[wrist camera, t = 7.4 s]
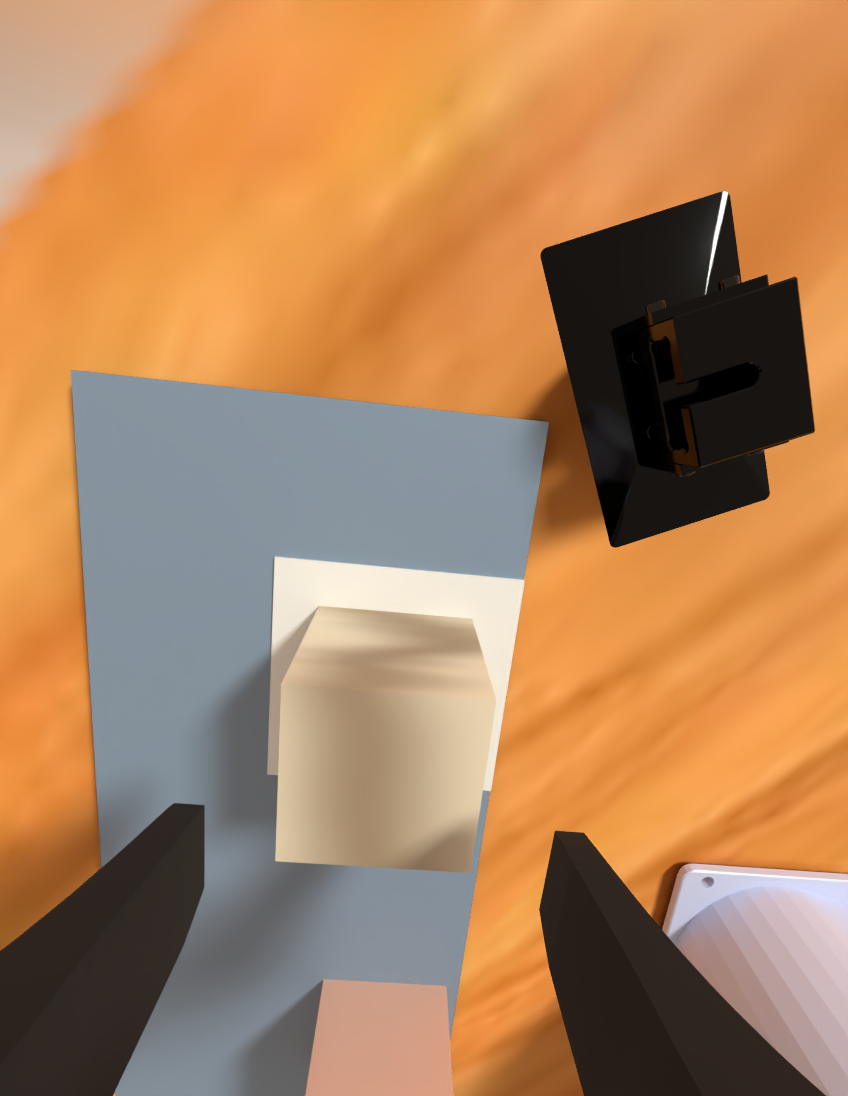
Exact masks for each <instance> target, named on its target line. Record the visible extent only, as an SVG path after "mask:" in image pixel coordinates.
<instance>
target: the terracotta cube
mask: <svg viewBox="0 0 848 1096" xmlns="http://www.w3.org/2000/svg"><path fill="white" fill-rule="evenodd" d="M305 1096H453V1082H452V1066H451V1050H450V1033H449V1017H448V1001H447V986H439V985H421V984H402V983H384V982H366V981H347V980H329V979H323V985H322V992H321V998H320V1005H319V1011H318V1017H317V1024H316V1030H315V1037H314V1043H313V1049H312V1056H311V1062H310V1068H309V1075H308V1081H307V1088H306V1094H305Z"/></svg>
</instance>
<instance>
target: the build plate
mask: <svg viewBox="0 0 848 1096" xmlns="http://www.w3.org/2000/svg"><path fill="white" fill-rule="evenodd" d="M541 261H542V265H543V269H544V273H545V277H546V281H547V286H548V290H549V294H550V298H551V302H552V306H553V310H554V314H555V319H556V323H557V327H558V331H559V335H560V339H561V343H562V347H563V352H564V356H565V360H566V364H567V368H568V372H569V376H570V380H571V384H572V389H573V393H574V397H575V401H576V405H577V409H578V413H579V417H580V422H581V426H582V430H583V434H584V438H585V442H586V446H587V450H588V455H589V459H590V463H591V467H592V471H593V475H594V479H595V483H596V488H597V492H598V496H599V500H600V504H601V508H602V512H603V516H604V521H605V525H606V529H607V533H608V537H609V541H610V545H611V546H612V547H615V548H616V547H620V546H623V545H626V544H629V543H632V542H635V541H638V540H641V539H644V538H648V537H651V536H654V535H657V534H660V533H663V532H666V531H669V530H672V529H675V528H679V527H682V526H685V525H688V524H691V523H694V522H697V521H700V520H703V519H706V518H710V517H713V516H716V515H719V514H722V513H725V512H728V511H731V510H734V509H737V508H741V507H744V506H747V505H750V504H753V503H756V502H759V501H762V500H765V499H767V498H768V497H769V494H770V491H769V484H768V476H767V469H766V461H765V454H764V449H768V448H771V447H774V446H777V445H780V444H784V443H787V442H789V440H792V439H795V438H799V437H802V436H805V435H808V434H811V433H814V431H815V425H814V416H813V407H812V399H811V390H810V382H809V373H808V364H807V356H806V347H805V339H804V330H803V321H802V313H801V304H800V296H799V287H798V278H796V277H793V278H790V279H787V280H784V281H781V282H778V283H775V284H772V285H769V282H768V275H764V276H761V277H758V278H755V279H752V280H749V281H746V282H743V283H742V282H741V275H740V267H739V260H738V252H737V245H736V238H735V230H734V223H733V215H732V208H731V200H730V195H729V194H728V193H727V192H725V191H722V192H719V193H716V194H713V195H710V196H706V197H703V198H700V199H697V200H694V201H691V202H688V203H685V204H681V205H678V206H675V207H672V208H669V209H666V210H663V211H660V212H656V213H653V214H650V215H647V216H644V217H641V218H638V219H635V220H632V221H628V222H625V223H622V224H619V225H616V226H613V227H610V228H607V229H603V230H600V231H597V232H594V233H591V234H588V235H585V236H582V237H578V238H575V239H572V240H569V241H566V242H563V243H560V244H557V245H554V246H550V247H547V248H545V249H543V251H542V252H541Z"/></svg>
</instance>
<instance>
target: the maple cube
mask: <svg viewBox="0 0 848 1096" xmlns="http://www.w3.org/2000/svg"><path fill="white" fill-rule="evenodd" d="M495 706H496V697H495V694H494V691H493V687H492V684H491V680H490V677H489V674H488V670H487V667H486V664H485V660H484V657H483V654H482V650H481V647H480V643H479V640H478V637H477V633H476V630H475V627H474V623H473V620H472V619H471V618H459V617H447V616H435V615H423V614H411V613H399V612H387V611H375V610H363V609H351V608H339V607H327V606H319V607H318V609H317V611H316V613H315V615H314V617H313V619H312V621H311V623H310V626H309V628H308V630H307V632H306V634H305V636H304V638H303V640H302V642H301V644H300V646H299V648H298V650H297V652H296V654H295V656H294V658H293V660H292V663H291V665H290V667H289V669H288V671H287V673H286V675H285V677H284V679H283V681H282V683H281V703H280V733H279V763H278V794H277V824H276V854H275V861H280V862H297V863H313V864H330V865H347V866H363V867H380V868H396V869H413V870H429V871H446V872H463V873H471V867H472V861H473V854H474V847H475V841H476V834H477V827H478V820H479V814H480V807H481V800H482V793H483V787H484V780H485V773H486V767H487V760H488V753H489V746H490V740H491V733H492V726H493V720H494V713H495Z"/></svg>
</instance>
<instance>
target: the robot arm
mask: <svg viewBox="0 0 848 1096" xmlns="http://www.w3.org/2000/svg"><path fill="white" fill-rule="evenodd" d="M204 876H205V805H196V804H182V803H173V804H172V805H171V806H170V807H168V808H167V809H166V810H165V811H164V812H163V813H162V814H160V815H159V816H158V817H157V818H156V819H155V820H154V821H153V822H152V823H151V824H150V825H148V826H147V827H146V828H145V829H144V830H143V831H142V832H141V833H140V834H139V835H138V836H136V837H135V838H134V839H133V840H132V841H131V842H130V843H129V844H128V845H127V846H125V847H124V848H123V849H122V850H121V851H120V852H119V853H118V854H117V855H116V856H114V857H113V858H112V859H111V860H110V861H109V862H108V863H106V864H105V865H104V866H103V867H102V868H101V869H100V870H98V871H97V872H96V873H95V874H94V875H93V876H92V877H90V878H89V879H88V880H87V881H86V882H85V883H83V884H82V885H81V886H80V887H79V888H78V889H77V890H75V891H74V892H73V893H72V894H71V895H70V896H68V897H67V898H66V899H65V900H64V901H62V902H61V903H60V904H59V905H57V906H56V907H55V908H54V909H52V910H51V911H50V912H49V913H48V914H46V915H45V916H44V917H43V918H41V919H40V920H39V921H38V922H36V923H35V924H34V925H33V926H31V927H30V928H29V929H28V930H27V931H25V932H24V933H23V934H22V935H20V936H19V937H18V938H17V939H15V940H14V941H13V942H11V943H10V944H9V945H8V946H6V947H5V948H4V949H2V950H1V951H0V1096H113V1094H114V1092H115V1090H116V1088H117V1086H118V1084H119V1082H120V1080H121V1078H122V1075H123V1073H124V1071H125V1069H126V1067H127V1065H128V1063H129V1061H130V1059H131V1056H132V1054H133V1052H134V1050H135V1048H136V1046H137V1044H138V1042H139V1040H140V1037H141V1035H142V1033H143V1031H144V1029H145V1027H146V1025H147V1023H148V1021H149V1018H150V1016H151V1014H152V1012H153V1010H154V1008H155V1006H156V1004H157V1002H158V999H159V997H160V995H161V993H162V991H163V989H164V987H165V985H166V982H167V980H168V978H169V976H170V974H171V972H172V970H173V967H174V965H175V963H176V961H177V959H178V957H179V955H180V952H181V950H182V948H183V946H184V943H185V940H186V938H187V935H188V932H189V930H190V927H191V924H192V921H193V919H194V916H195V913H196V910H197V907H198V904H199V901H200V899H201V896H202V893H203V890H204ZM539 910H540V916H541V922H542V929H543V935H544V941H545V947H546V952H547V958H548V963H549V969H550V972H551V976H552V980H553V984H554V988H555V991H556V995H557V999H558V1002H559V1006H560V1010H561V1013H562V1017H563V1021H564V1024H565V1028H566V1032H567V1035H568V1039H569V1042H570V1046H571V1050H572V1053H573V1057H574V1060H575V1064H576V1068H577V1071H578V1075H579V1078H580V1082H581V1086H582V1089H583V1093H584V1096H848V874H841V873H826V872H811V871H796V870H782V869H767V868H752V867H737V866H723V865H708V864H693V863H692V864H686V865H684V866H683V867H681V868H680V870H679V872H678V874H677V878H676V881H675V885H674V889H673V892H672V896H671V899H670V903H669V907H668V910H667V914H666V917H665V921H664V924H663V928H662V929H661V928H660V927H659V926H658V924H657V923H656V922H655V921H654V920H653V918H652V917H651V916H650V915H649V914H648V913H647V911H646V910H645V909H644V908H643V906H642V905H641V904H640V903H639V902H638V900H637V899H636V898H635V897H634V895H633V894H632V893H631V892H630V890H629V889H628V888H627V887H626V885H625V884H624V883H623V882H622V880H621V879H620V878H619V877H618V875H617V874H616V873H615V872H614V870H613V869H612V868H611V867H610V865H609V864H608V863H607V861H606V860H605V859H604V858H603V856H602V855H601V854H600V853H599V851H598V850H597V849H596V847H595V846H594V845H593V844H592V842H591V841H590V840H589V839H588V837H587V836H586V835H585V834H584V833H578V832H564V831H555V834H554V839H553V844H552V849H551V854H550V859H549V864H548V869H547V874H546V879H545V884H544V889H543V894H542V899H541V904H540V909H539Z"/></svg>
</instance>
